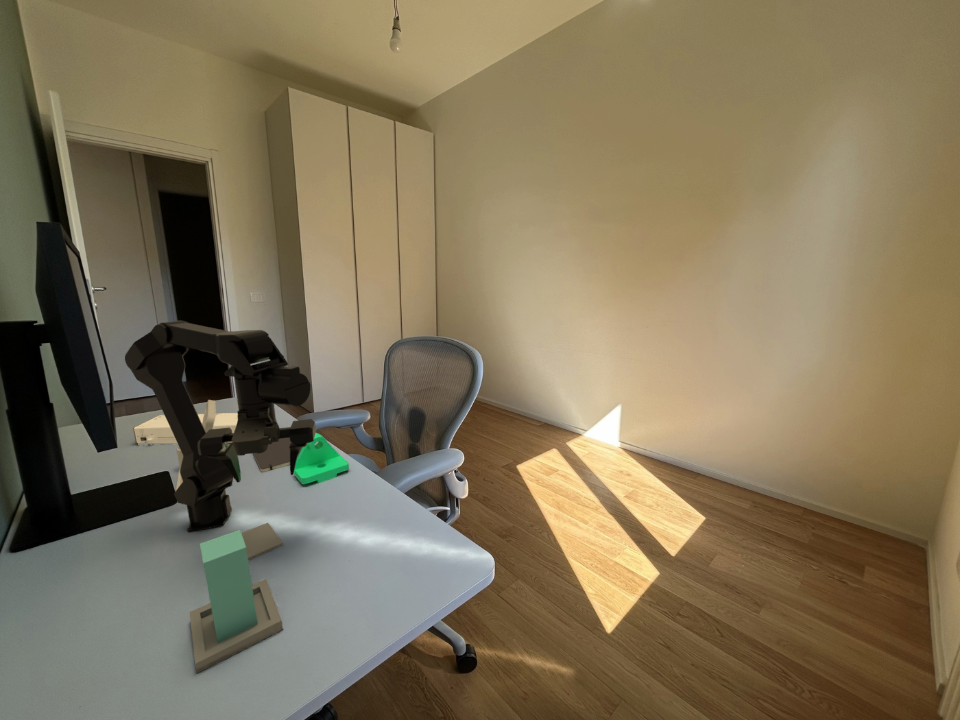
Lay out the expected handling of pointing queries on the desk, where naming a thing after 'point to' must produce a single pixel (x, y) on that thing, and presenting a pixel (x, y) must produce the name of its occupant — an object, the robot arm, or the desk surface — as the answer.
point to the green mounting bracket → (319, 462)
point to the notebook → (275, 455)
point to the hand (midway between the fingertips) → (266, 477)
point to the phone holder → (207, 424)
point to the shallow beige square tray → (214, 652)
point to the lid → (260, 540)
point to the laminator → (162, 433)
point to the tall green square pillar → (229, 584)
